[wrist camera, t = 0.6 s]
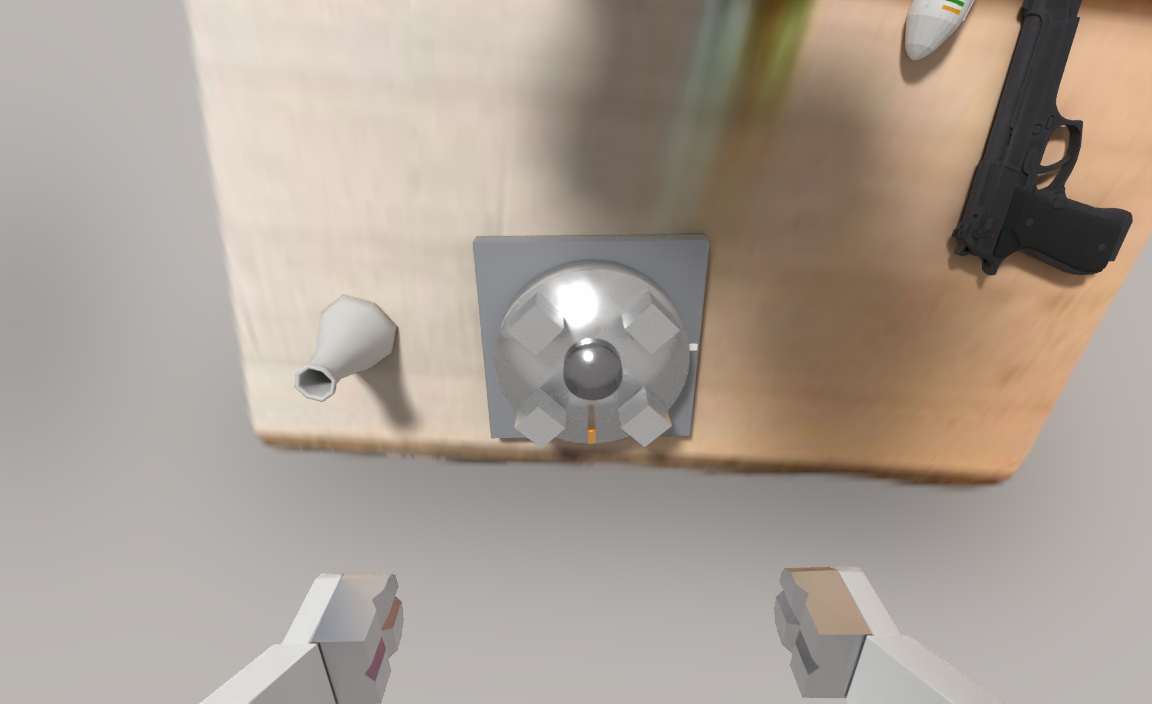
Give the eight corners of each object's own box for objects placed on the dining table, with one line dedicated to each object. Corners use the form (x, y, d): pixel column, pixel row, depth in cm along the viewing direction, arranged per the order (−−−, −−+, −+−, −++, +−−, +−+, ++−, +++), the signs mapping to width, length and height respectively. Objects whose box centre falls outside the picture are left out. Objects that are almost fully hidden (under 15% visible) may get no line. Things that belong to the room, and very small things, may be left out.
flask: (307, 339, 53) (253, 393, 44) (339, 280, 50) (289, 325, 41) (376, 377, 54) (337, 436, 46) (410, 323, 52) (377, 374, 43)
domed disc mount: (491, 260, 47) (481, 284, 41) (691, 258, 47) (706, 281, 42) (504, 426, 54) (497, 464, 49) (676, 424, 55) (688, 462, 49)
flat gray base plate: (476, 236, 48) (472, 243, 46) (704, 234, 48) (710, 240, 46) (493, 426, 57) (491, 439, 55) (686, 424, 57) (690, 436, 55)
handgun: (1239, -15, 39) (1046, -19, 38) (1113, 279, 47) (955, 279, 47) (1189, -6, 42) (1010, -10, 41) (1080, 269, 50) (931, 269, 50)
